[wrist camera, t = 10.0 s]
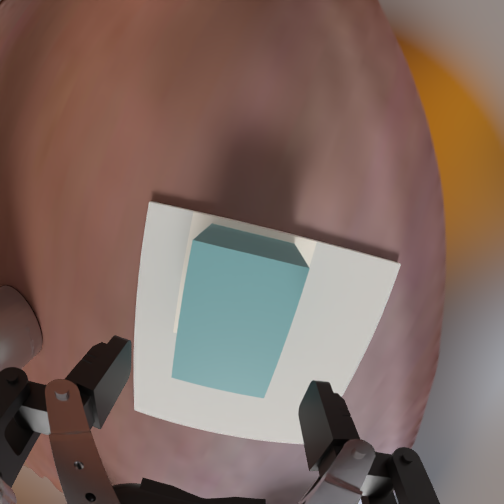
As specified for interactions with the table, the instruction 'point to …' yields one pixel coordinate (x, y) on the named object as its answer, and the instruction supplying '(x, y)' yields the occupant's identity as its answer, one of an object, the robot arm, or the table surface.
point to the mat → (296, 345)
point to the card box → (236, 309)
